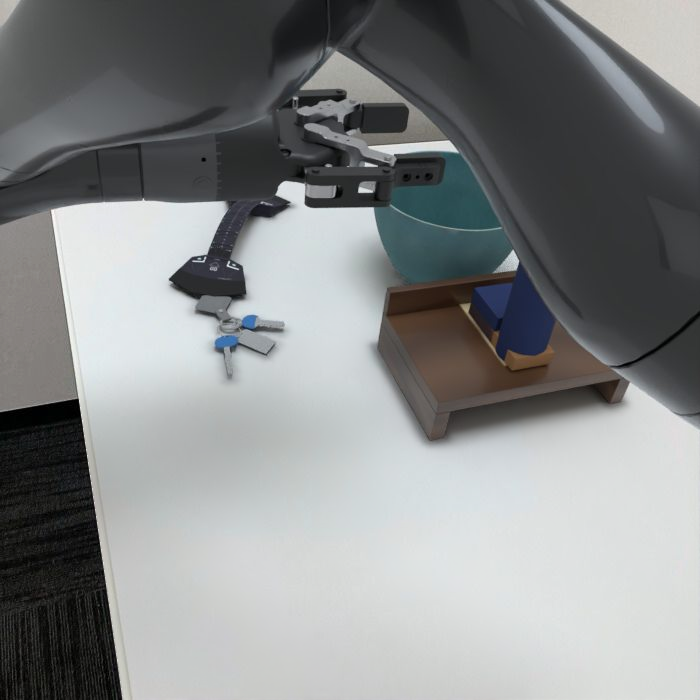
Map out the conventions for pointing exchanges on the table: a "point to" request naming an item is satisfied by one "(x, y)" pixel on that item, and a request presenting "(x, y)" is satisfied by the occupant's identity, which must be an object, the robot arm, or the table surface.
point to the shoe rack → (470, 354)
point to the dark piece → (223, 253)
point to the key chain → (250, 322)
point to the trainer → (515, 321)
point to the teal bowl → (442, 227)
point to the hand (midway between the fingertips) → (423, 141)
